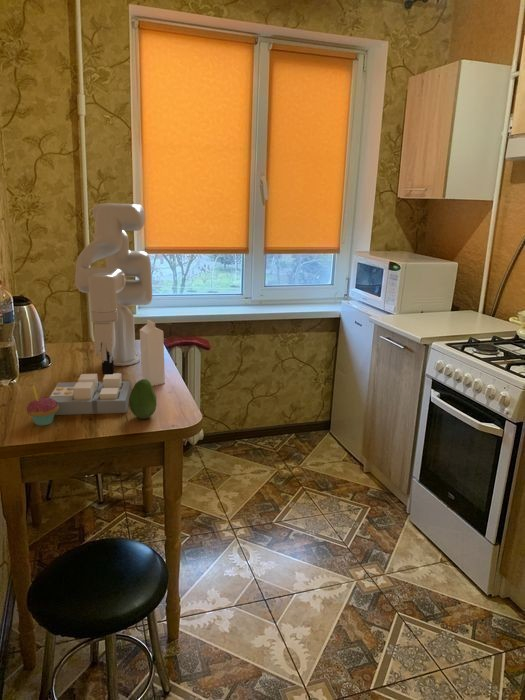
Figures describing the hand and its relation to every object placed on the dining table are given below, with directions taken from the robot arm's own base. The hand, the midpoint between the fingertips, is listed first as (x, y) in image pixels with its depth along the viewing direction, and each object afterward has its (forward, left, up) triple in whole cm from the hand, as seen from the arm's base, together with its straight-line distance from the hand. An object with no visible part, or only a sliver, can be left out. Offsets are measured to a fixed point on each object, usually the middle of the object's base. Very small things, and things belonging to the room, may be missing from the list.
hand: (108, 373), depth 162 cm
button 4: (+1, 0, -10) cm, 10 cm away
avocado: (+9, +11, -11) cm, 18 cm away
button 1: (-7, -8, -8) cm, 13 cm away
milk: (-20, +12, -11) cm, 26 cm away
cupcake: (+10, -17, -11) cm, 23 cm away
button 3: (-7, 0, -8) cm, 11 cm away
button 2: (+1, -8, -8) cm, 11 cm away
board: (-3, -6, -11) cm, 13 cm away
